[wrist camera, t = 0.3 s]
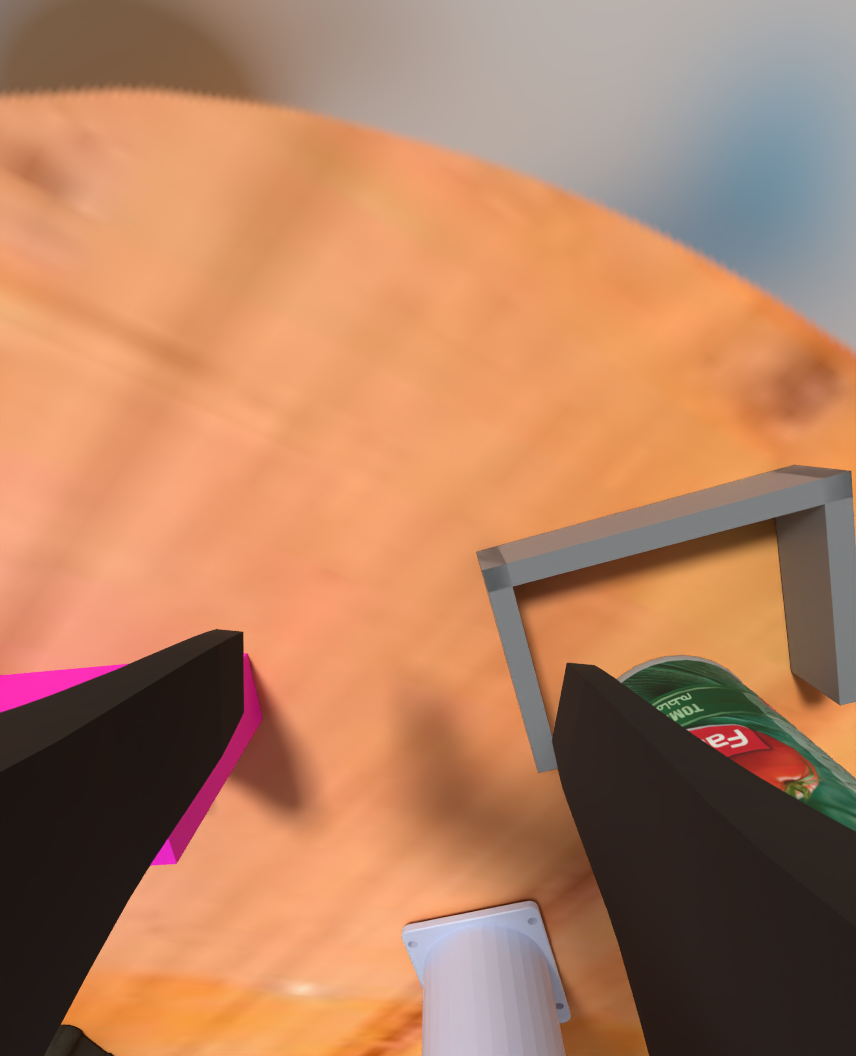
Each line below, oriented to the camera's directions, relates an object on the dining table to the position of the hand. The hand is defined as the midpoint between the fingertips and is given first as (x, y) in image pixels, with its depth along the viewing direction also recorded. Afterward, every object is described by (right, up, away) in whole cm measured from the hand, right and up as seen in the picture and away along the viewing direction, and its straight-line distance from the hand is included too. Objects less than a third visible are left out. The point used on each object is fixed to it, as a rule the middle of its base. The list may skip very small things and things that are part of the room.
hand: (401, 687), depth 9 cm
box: (+11, -1, +10) cm, 15 cm away
